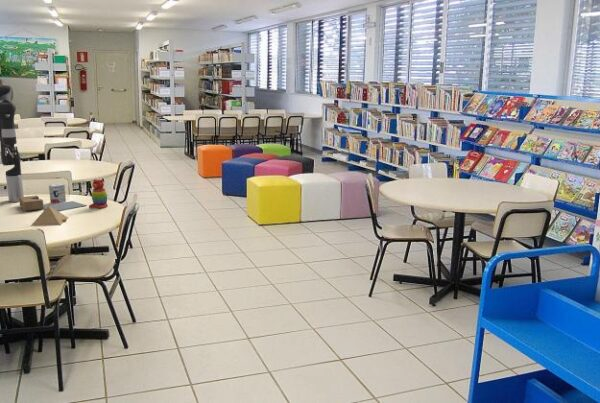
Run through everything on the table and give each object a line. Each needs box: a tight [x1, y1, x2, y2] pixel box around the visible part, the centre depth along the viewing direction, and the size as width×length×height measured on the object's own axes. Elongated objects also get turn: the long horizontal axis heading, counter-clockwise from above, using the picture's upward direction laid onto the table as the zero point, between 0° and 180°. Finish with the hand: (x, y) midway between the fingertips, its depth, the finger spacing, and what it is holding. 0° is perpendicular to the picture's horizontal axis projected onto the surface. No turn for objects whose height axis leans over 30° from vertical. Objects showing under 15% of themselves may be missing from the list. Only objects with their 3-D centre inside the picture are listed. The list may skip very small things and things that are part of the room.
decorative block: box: [19, 195, 44, 212], centre depth 357 cm, size 11×6×20 cm
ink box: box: [48, 183, 67, 205], centre depth 371 cm, size 9×5×12 cm, turn 136°
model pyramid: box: [30, 205, 69, 227], centre depth 325 cm, size 17×17×10 cm
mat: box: [42, 200, 87, 212], centre depth 360 cm, size 17×22×1 cm
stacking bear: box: [88, 178, 108, 210], centre depth 359 cm, size 11×10×18 cm
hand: (12, 162), depth 343 cm, fingers open, 8 cm apart
